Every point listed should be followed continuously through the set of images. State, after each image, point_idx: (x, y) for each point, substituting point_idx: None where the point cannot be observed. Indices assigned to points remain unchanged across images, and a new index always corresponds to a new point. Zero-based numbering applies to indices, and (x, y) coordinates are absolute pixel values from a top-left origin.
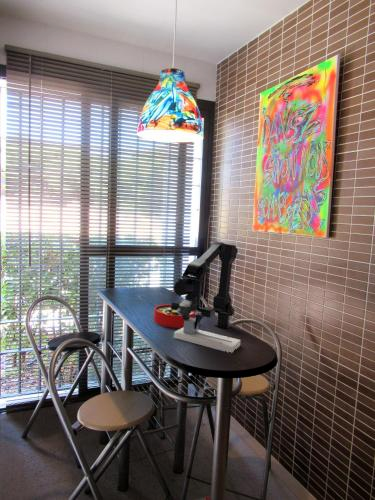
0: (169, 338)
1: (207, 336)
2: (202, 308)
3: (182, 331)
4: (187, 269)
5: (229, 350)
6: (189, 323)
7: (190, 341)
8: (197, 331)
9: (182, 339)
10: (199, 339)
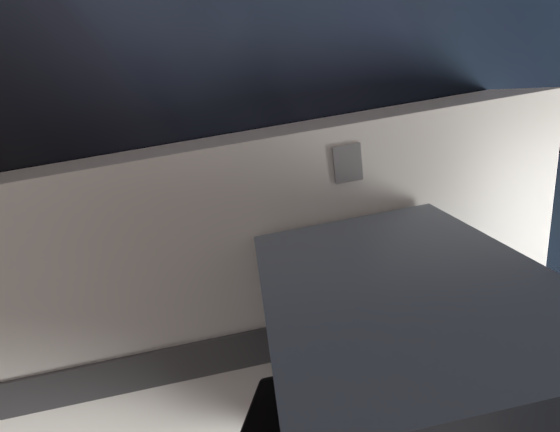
0: (524, 12)
1: (12, 378)
2: None
3: None
4: None
5: None
6: (408, 362)
7: (209, 138)
8: None
9: (347, 114)
10: (12, 180)
